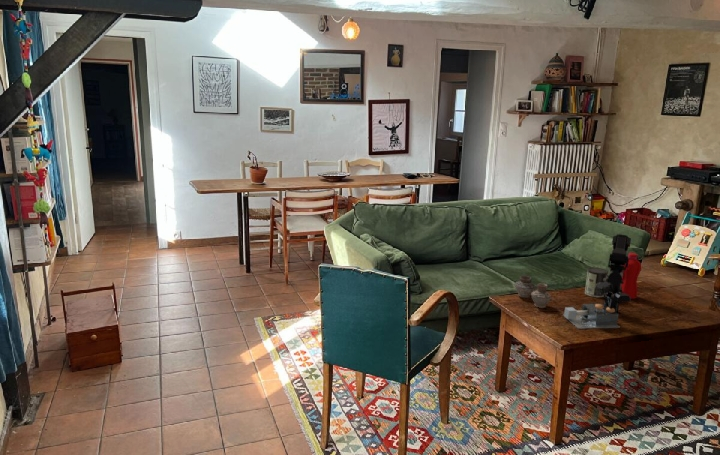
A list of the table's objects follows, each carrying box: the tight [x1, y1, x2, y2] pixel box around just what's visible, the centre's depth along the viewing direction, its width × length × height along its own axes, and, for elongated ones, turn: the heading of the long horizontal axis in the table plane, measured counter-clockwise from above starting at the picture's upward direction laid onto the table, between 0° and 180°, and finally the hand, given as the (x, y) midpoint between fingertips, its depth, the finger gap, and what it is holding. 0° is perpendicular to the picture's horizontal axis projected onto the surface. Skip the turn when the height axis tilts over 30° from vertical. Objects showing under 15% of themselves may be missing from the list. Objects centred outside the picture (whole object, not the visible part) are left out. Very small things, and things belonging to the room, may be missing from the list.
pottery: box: [513, 275, 552, 309], centre depth 284 cm, size 11×25×12 cm, turn 18°
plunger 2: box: [606, 307, 615, 313], centre depth 256 cm, size 4×4×4 cm
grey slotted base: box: [561, 303, 621, 330], centre depth 260 cm, size 21×16×7 cm
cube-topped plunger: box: [563, 306, 589, 320], centre depth 262 cm, size 20×4×4 cm, turn 97°
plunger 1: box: [594, 303, 604, 314], centre depth 255 cm, size 4×4×4 cm
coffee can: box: [584, 266, 609, 298], centre depth 295 cm, size 10×10×14 cm
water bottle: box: [621, 252, 642, 300], centre depth 290 cm, size 9×11×25 cm
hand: (610, 308), depth 256 cm, fingers closed
